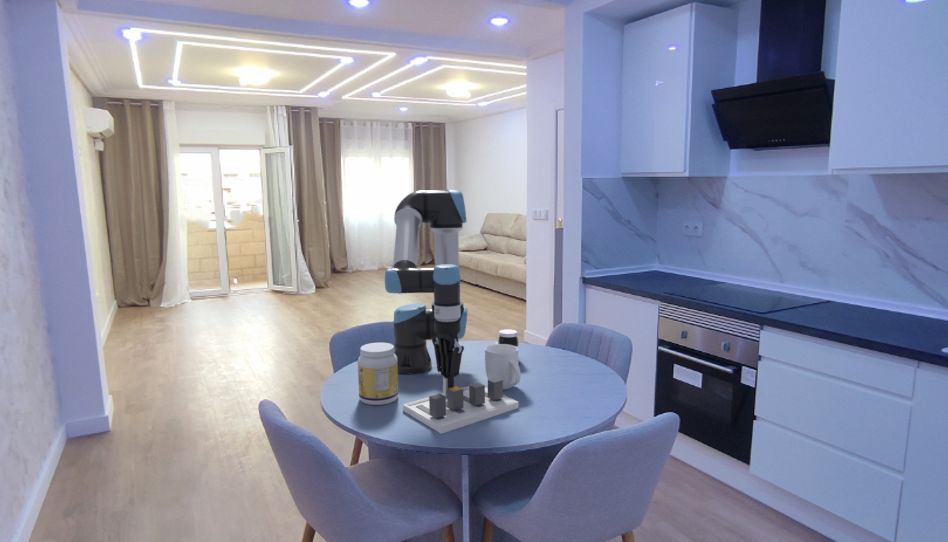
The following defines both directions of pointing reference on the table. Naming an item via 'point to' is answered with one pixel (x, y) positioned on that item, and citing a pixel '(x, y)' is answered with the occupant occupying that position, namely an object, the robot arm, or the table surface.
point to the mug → (503, 364)
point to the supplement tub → (378, 374)
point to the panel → (459, 412)
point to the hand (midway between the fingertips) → (448, 397)
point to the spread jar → (508, 337)
